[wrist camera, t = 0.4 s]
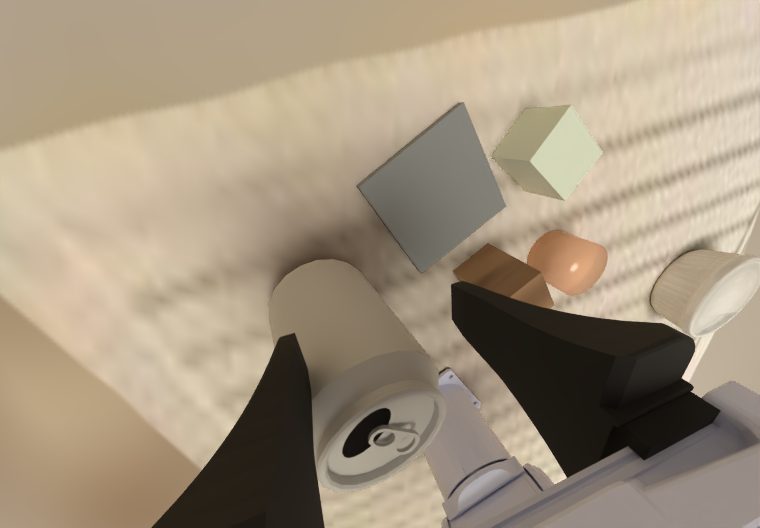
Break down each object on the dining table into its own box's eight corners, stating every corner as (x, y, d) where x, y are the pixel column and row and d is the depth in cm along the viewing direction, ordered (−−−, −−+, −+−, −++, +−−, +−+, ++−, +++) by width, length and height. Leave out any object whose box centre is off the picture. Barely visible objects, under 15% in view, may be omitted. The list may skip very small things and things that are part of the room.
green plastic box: (555, 149, 23) (603, 152, 20) (524, 190, 24) (565, 200, 21) (523, 109, 21) (571, 104, 17) (490, 156, 22) (529, 161, 18)
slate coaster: (501, 204, 24) (506, 206, 23) (418, 270, 24) (421, 273, 23) (458, 103, 19) (463, 102, 18) (356, 185, 19) (358, 187, 19)
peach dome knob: (571, 255, 29) (610, 271, 26) (534, 285, 29) (568, 305, 26) (561, 219, 27) (603, 232, 23) (520, 252, 27) (556, 270, 23)
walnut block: (502, 272, 27) (554, 305, 22) (469, 297, 27) (514, 336, 22) (487, 243, 25) (541, 272, 20) (453, 271, 25) (497, 307, 20)
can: (299, 236, 19) (372, 368, 9) (380, 274, 23) (487, 389, 13) (247, 325, 20) (264, 524, 10) (334, 344, 24) (402, 496, 15)
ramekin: (640, 328, 40) (686, 353, 36) (644, 272, 35) (699, 293, 30) (701, 287, 41) (753, 307, 36) (714, 226, 35) (778, 239, 31)
